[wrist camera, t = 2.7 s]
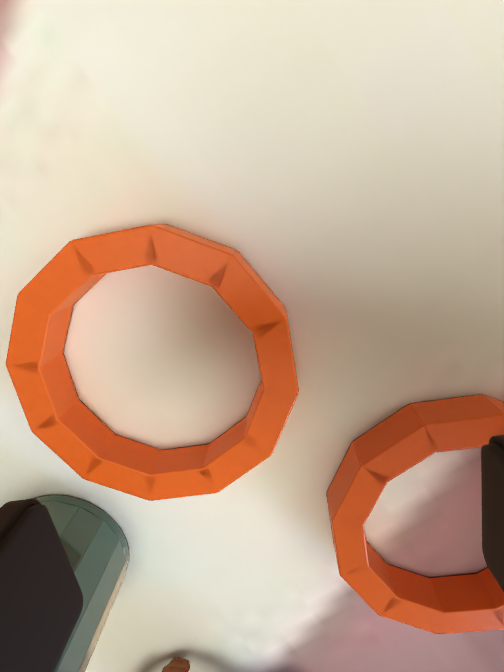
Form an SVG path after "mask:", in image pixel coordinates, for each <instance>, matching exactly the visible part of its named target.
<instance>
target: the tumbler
mask: <svg viewBox="0 0 504 672" xmlns="http://www.w3.org/2000/svg"><path fill="white" fill-rule="evenodd" d="M35 499H37V500H38V501H39V502H40V503H41V505H45V506H46V507H47V509H48V511H49V514H50V516H51V518H52V521H53V523H54V526H55V528H56V530H57V533H58V535H59V538H60V540H61V542H62V545H63V547H64V550H65V552H66V554H67V557H68V559H69V562H70V564H71V566H72V569H73V571H74V574H75V576H76V579H77V581H78V583H79V586H80V588H81V591H82V593H83V608H82V611H81V614H80V616H79V618H78V621H77V623H76V625H75V627H74V629H73V631H72V634H71V636H70V638H69V640H68V642H67V644H66V647H65V649H64V651H63V653H62V655H61V657H60V660H59V662H58V664H57V666H56V668H55V670H54V672H85V670H86V668H87V666H88V663H89V661H90V658H91V656H92V653H93V651H94V649H95V646H96V644H97V641H98V639H99V637H100V634H101V632H102V629H103V627H104V624H105V622H106V620H107V617H108V615H109V612H110V610H111V608H112V605H113V603H114V600H115V598H116V595H117V593H118V591H119V588H120V586H121V583H122V581H123V579H124V573H125V571H126V568H127V565H128V561H129V550H128V545H127V541H126V538H125V536H124V534H123V532H122V530H121V529H120V527H119V526H118V525H117V523H116V522H115V521H114V520H113V519H112V518H111V517H110V516H109V515H108V514H107V513H105V512H104V511H103V510H101V509H100V508H98V507H97V506H95V505H93V504H91V503H89V502H86V501H84V500H81V499H78V498H74V497H70V496H64V495H48V496H42V497H38V498H35Z"/></svg>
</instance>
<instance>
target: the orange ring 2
mask: <svg viewBox="0 0 504 672" xmlns="http://www.w3.org/2000/svg"><path fill="white" fill-rule="evenodd" d="M497 435H504V402H502V401H500V400H497V399H494V398H491V397H488V396H486V395H483V394H481V395H472V396H465V397H458V398H450V399H443V400H435V401H428V402H421V403H413V404H410V405H407V406H405V407H404V408H402V409H401V410H399V411H398V412H396V413H395V414H393V415H392V416H390V417H389V418H387V419H386V420H384V421H383V422H381V423H380V424H378V425H377V426H375V427H374V428H372V429H371V430H369V431H368V432H366V433H365V434H363V435H362V436H360V437H359V438H357V439H356V440H354V441H353V442H352V443H351V445H350V447H349V449H348V451H347V453H346V455H345V457H344V459H343V461H342V463H341V465H340V467H339V469H338V471H337V473H336V475H335V477H334V479H333V481H332V483H331V485H330V487H329V489H328V491H327V501H328V508H329V515H330V521H331V528H332V534H333V541H334V547H335V552H336V558H337V563H338V568H339V573H340V576H341V577H342V578H343V579H344V580H345V581H346V582H347V583H348V584H349V585H350V586H351V587H352V588H353V589H354V590H355V591H356V592H357V593H358V594H359V595H360V596H361V597H362V598H363V599H364V601H365V602H366V603H367V604H368V605H369V606H370V607H371V608H372V609H373V610H374V611H375V612H376V613H377V614H378V615H380V616H383V617H386V618H390V619H393V620H396V621H399V622H402V623H405V624H408V625H411V626H414V627H417V628H420V629H424V630H427V631H430V632H433V633H436V634H446V633H460V632H473V631H486V630H499V629H504V592H503V590H502V589H501V587H500V586H499V584H498V582H497V581H496V579H495V578H494V576H493V574H492V573H491V571H490V569H489V568H487V569H485V570H483V571H481V572H479V573H477V574H469V575H458V576H447V577H436V578H427V577H424V576H421V575H418V574H415V573H412V572H409V571H406V570H403V569H400V568H397V567H394V566H391V565H388V564H387V563H386V562H385V561H384V560H383V559H382V558H381V557H380V556H379V555H378V554H377V552H376V551H375V550H374V549H373V548H372V547H371V546H370V545H369V544H368V543H367V542H366V539H365V531H364V523H365V522H366V520H367V518H368V516H369V514H370V513H371V511H372V509H373V507H374V505H375V504H376V502H377V500H378V498H379V496H380V495H381V493H382V491H383V489H384V487H385V486H386V484H387V482H389V481H390V480H392V479H393V478H395V477H397V476H398V475H400V474H402V473H403V472H405V471H406V470H408V469H410V468H411V467H413V466H414V465H416V464H418V463H419V462H421V461H422V460H424V459H426V458H427V457H429V456H431V455H432V454H434V453H435V452H444V451H452V450H460V449H468V448H476V447H482V446H483V445H487V444H489V440H490V438H491V437H492V436H497Z"/></svg>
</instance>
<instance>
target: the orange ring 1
mask: <svg viewBox="0 0 504 672" xmlns="http://www.w3.org/2000/svg"><path fill="white" fill-rule="evenodd" d="M147 265H154V266H157V267H160V268H162V269H165V270H168V271H171V272H173V273H176V274H179V275H182V276H184V277H187V278H190V279H193V280H195V281H198V282H201V283H204V284H206V285H209V286H212V287H213V288H214V289H215V290H216V292H217V293H218V294H219V295H220V296H221V297H222V298H223V300H224V301H225V302H226V303H227V304H228V305H229V306H230V308H231V309H232V310H233V311H234V312H235V313H236V315H237V316H238V317H239V318H240V319H241V320H242V321H243V323H244V324H245V325H246V326H247V327H248V328H249V329H250V331H251V332H252V333H253V337H254V342H255V347H256V352H257V358H258V363H259V368H260V374H261V379H262V380H261V382H260V385H259V387H258V390H257V392H256V395H255V397H254V400H253V402H252V405H251V407H250V410H249V412H248V415H247V417H245V418H244V419H243V420H241V421H240V422H239V423H237V424H236V425H235V426H233V427H232V428H231V429H229V430H228V431H227V432H225V433H224V434H222V435H221V436H220V437H218V438H217V439H216V440H214V441H213V442H212V443H210V444H207V445H199V446H192V447H184V448H177V449H169V450H159V449H156V448H153V447H150V446H147V445H144V444H141V443H138V442H136V441H133V440H130V439H127V438H124V437H121V436H118V435H115V434H114V433H113V432H112V431H111V430H110V429H109V428H108V427H107V426H106V425H105V424H104V423H103V422H102V421H100V420H99V419H98V418H97V417H96V416H95V415H94V414H93V413H92V412H91V411H90V410H89V409H88V408H87V407H86V406H85V405H84V404H83V403H82V402H81V401H80V400H79V399H78V396H77V393H76V390H75V387H74V384H73V381H72V378H71V375H70V372H69V369H68V366H67V364H66V361H65V358H64V355H63V350H64V345H65V341H66V336H67V331H68V327H69V322H70V318H71V313H72V309H73V305H74V304H75V303H76V302H77V301H78V300H79V299H80V298H81V297H82V296H83V295H84V294H85V293H86V292H87V291H88V290H89V289H90V288H91V287H92V286H94V285H95V284H96V283H97V282H98V281H99V280H100V279H101V278H102V277H103V276H104V275H105V274H106V273H109V272H114V271H120V270H125V269H130V268H136V267H141V266H147ZM6 364H7V365H6V366H7V369H8V372H9V374H10V377H11V379H12V382H13V384H14V387H15V390H16V392H17V395H18V397H19V400H20V403H21V405H22V408H23V410H24V413H25V416H26V418H27V421H28V423H29V426H30V429H31V430H32V432H33V433H34V434H35V435H36V436H37V437H38V438H39V439H40V440H42V441H43V442H44V443H45V444H46V445H47V446H48V447H49V448H50V449H51V450H52V451H54V452H55V453H56V454H57V455H58V456H59V457H60V458H61V459H62V460H63V461H64V462H66V463H67V464H68V465H69V466H70V467H71V468H72V469H73V470H74V471H75V472H76V473H78V474H79V475H80V476H81V477H82V478H83V479H85V480H88V481H91V482H94V483H97V484H100V485H103V486H106V487H109V488H113V489H116V490H119V491H122V492H125V493H128V494H131V495H134V496H137V497H140V498H143V499H146V500H151V501H153V500H161V499H169V498H178V497H186V496H195V495H203V494H211V493H217V492H219V491H221V490H222V489H224V488H225V487H226V486H228V485H229V484H231V483H232V482H234V481H235V480H236V479H238V478H239V477H241V476H242V475H244V474H245V473H247V472H248V471H249V470H251V469H252V468H254V467H255V466H257V465H258V464H259V463H261V462H262V461H264V460H265V459H267V458H268V457H270V456H271V454H272V453H273V451H274V448H275V446H276V444H277V442H278V439H279V437H280V435H281V432H282V430H283V428H284V426H285V423H286V421H287V419H288V416H289V414H290V412H291V409H292V407H293V405H294V403H295V400H296V398H297V396H298V392H299V389H298V382H297V376H296V369H295V363H294V357H293V351H292V344H291V338H290V332H289V326H288V319H287V313H286V309H285V307H284V305H283V304H282V303H281V302H280V301H279V299H278V298H277V297H276V296H275V295H274V293H273V292H272V291H271V290H270V289H269V287H268V286H267V285H266V284H265V283H264V281H263V280H262V279H261V278H260V277H259V276H258V274H257V273H256V272H255V271H254V270H253V268H252V267H251V266H250V265H249V264H248V262H247V261H246V260H245V259H244V258H243V256H242V255H241V254H240V253H239V252H238V251H237V250H235V249H232V248H229V247H227V246H224V245H221V244H219V243H216V242H213V241H210V240H208V239H205V238H202V237H200V236H197V235H194V234H192V233H189V232H186V231H183V230H181V229H178V228H175V227H173V226H170V225H167V224H156V225H147V226H142V227H137V228H131V229H126V230H121V231H116V232H111V233H106V234H100V235H95V236H90V237H85V238H80V239H75V240H72V241H70V242H69V243H68V244H67V245H66V246H65V247H64V248H63V249H62V250H61V251H60V252H59V253H58V254H57V255H56V256H55V257H54V258H53V259H52V260H51V261H50V262H49V263H48V264H47V265H46V266H45V267H44V268H43V269H42V270H41V271H40V272H39V273H38V274H37V275H36V276H35V277H34V278H33V279H32V280H31V281H30V282H29V283H28V284H27V285H26V286H25V287H24V288H23V289H22V290H21V291H20V292H19V294H18V296H17V302H16V307H15V313H14V319H13V325H12V331H11V336H10V342H9V348H8V354H7V360H6Z"/></svg>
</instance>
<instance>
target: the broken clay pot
mask: <svg viewBox="0 0 504 672" xmlns="http://www.w3.org/2000/svg"><path fill="white" fill-rule="evenodd" d="M189 669H190V664H189V661H188V660H186V659H183V658H180V657H177V658H174V659H173V660H171V662H170V663H169V664H168V665H167V666H165V667H164V668H163V670H162V672H188V671H189Z"/></svg>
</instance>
